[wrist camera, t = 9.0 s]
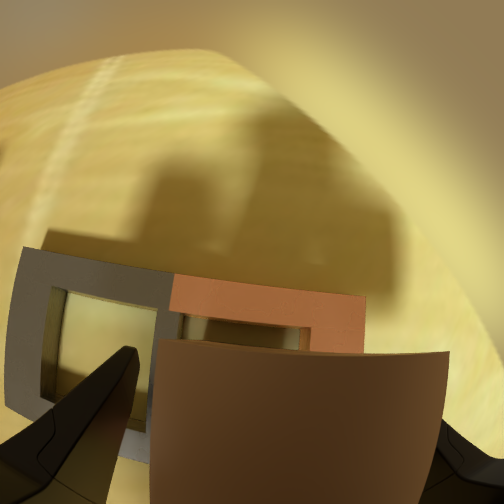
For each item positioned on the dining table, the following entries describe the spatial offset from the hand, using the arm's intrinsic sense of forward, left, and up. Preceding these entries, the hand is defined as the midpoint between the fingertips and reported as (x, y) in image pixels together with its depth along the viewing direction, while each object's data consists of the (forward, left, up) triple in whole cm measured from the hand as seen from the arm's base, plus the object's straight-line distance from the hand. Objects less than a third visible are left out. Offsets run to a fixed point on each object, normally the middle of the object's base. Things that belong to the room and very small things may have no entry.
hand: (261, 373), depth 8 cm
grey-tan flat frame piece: (+1, +4, -8) cm, 9 cm away
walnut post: (-1, +1, -8) cm, 8 cm away
